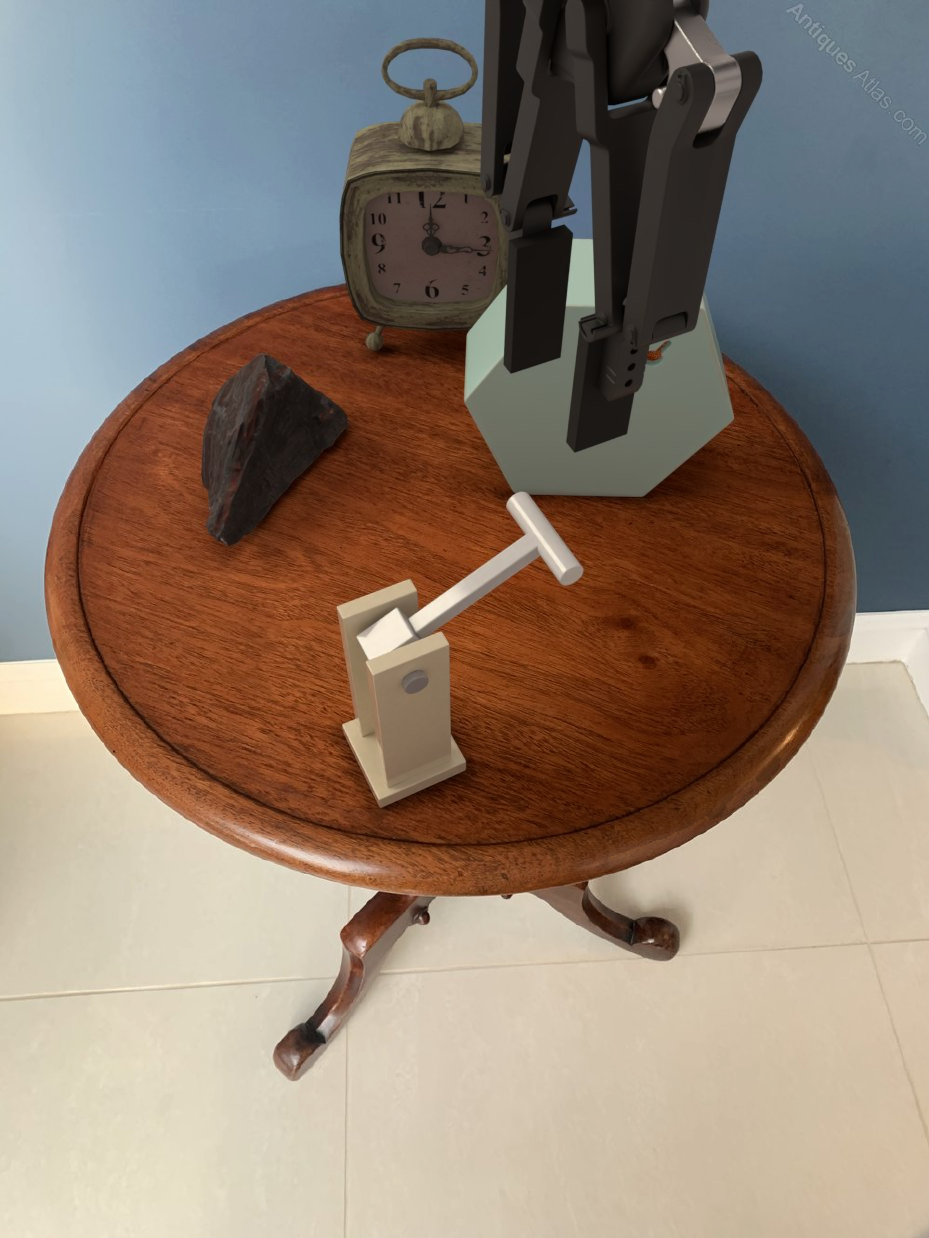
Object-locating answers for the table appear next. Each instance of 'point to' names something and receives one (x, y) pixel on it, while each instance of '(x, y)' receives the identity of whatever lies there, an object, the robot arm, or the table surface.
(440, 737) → the faucet bracket
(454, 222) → the tabletop clock
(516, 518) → the faucet handle
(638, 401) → the planter
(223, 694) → the table surface
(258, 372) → the rock
